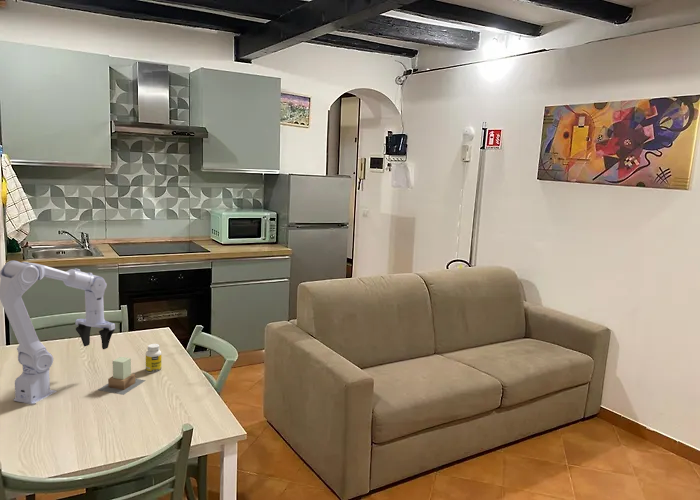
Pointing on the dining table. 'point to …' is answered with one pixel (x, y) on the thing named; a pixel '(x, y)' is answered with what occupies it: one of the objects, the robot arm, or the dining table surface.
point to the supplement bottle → (153, 358)
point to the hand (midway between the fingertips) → (95, 346)
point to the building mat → (119, 391)
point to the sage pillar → (121, 368)
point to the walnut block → (121, 382)
